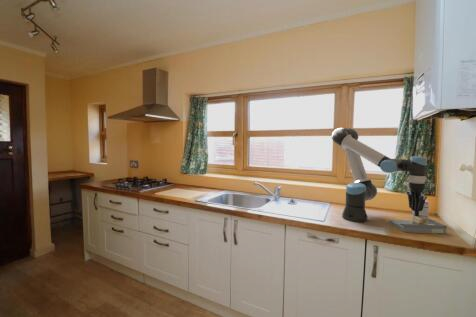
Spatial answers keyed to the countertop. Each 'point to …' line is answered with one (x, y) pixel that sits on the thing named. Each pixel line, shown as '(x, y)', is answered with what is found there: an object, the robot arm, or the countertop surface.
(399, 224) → the trap board
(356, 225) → the countertop surface
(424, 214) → the syrup box
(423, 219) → the maple block
